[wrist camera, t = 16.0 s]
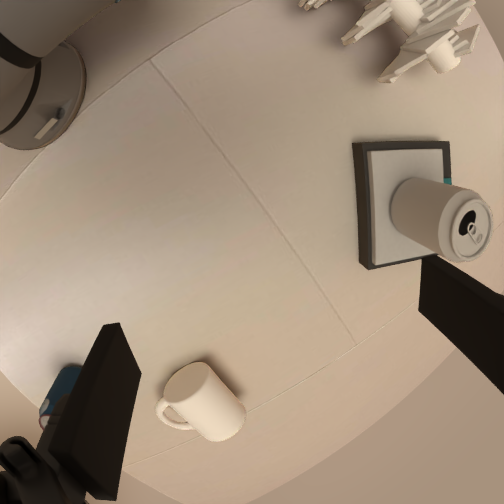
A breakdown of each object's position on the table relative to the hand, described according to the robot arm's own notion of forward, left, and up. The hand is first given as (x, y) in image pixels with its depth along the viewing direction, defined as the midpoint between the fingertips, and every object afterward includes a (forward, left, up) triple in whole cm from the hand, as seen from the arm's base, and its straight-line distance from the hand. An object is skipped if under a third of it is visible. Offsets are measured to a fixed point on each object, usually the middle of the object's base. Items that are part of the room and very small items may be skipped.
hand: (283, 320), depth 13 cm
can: (+2, +21, -23) cm, 31 cm away
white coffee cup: (+27, -11, -27) cm, 40 cm away
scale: (+2, +22, -27) cm, 35 cm away
